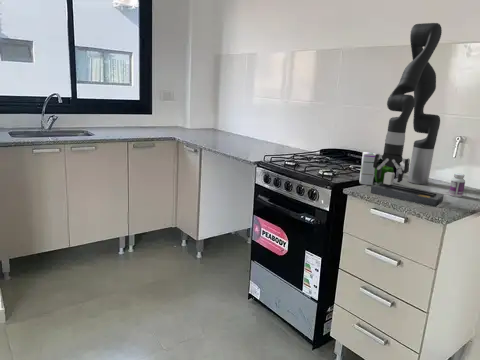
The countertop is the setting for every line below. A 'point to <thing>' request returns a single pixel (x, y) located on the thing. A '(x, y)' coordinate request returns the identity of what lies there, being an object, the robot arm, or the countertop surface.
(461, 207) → the countertop surface
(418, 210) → the countertop surface
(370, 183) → the syrup box
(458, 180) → the pill bottle
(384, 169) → the bell pepper
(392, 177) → the fader knob
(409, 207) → the countertop surface
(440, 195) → the slider panel
